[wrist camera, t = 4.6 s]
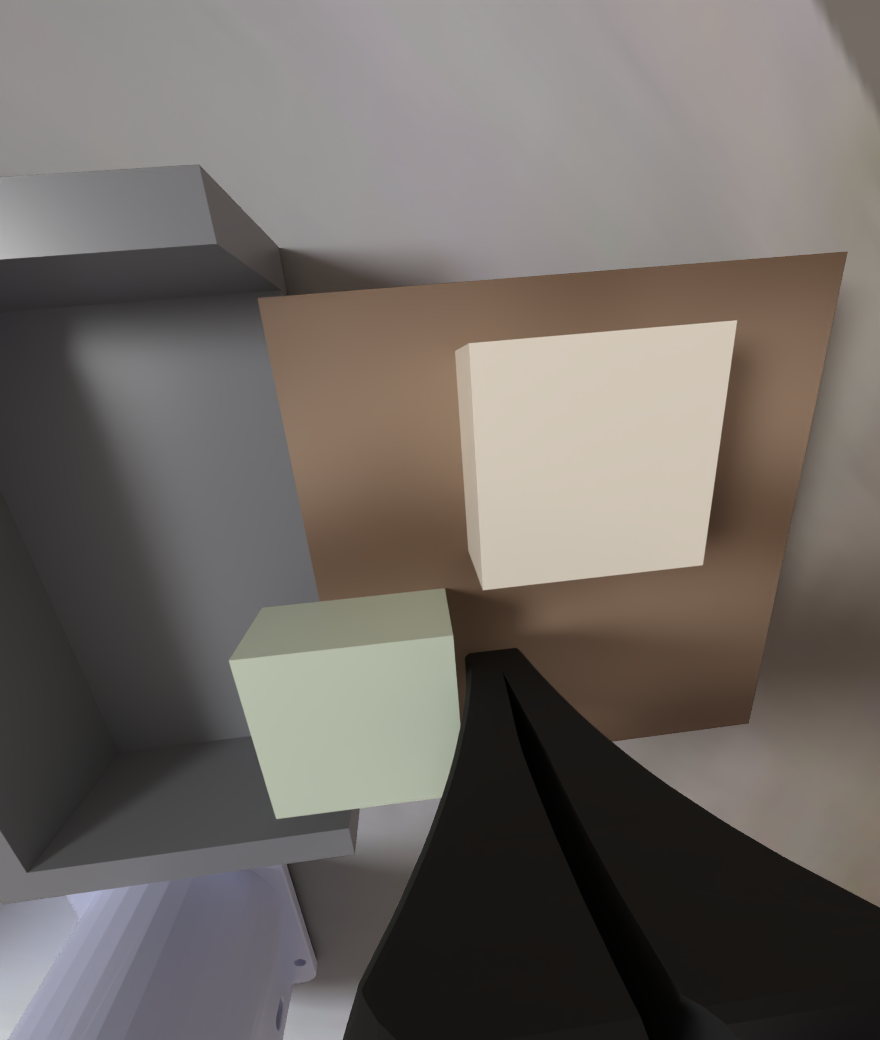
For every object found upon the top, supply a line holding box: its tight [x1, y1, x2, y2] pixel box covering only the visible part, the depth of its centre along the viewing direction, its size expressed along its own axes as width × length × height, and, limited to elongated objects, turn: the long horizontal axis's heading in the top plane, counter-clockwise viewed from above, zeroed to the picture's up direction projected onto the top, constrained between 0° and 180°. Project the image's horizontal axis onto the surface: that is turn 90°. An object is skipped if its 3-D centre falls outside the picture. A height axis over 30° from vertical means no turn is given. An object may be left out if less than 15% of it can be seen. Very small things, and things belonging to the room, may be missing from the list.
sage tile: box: [229, 588, 461, 819], centre depth 10 cm, size 4×4×2 cm
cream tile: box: [455, 320, 737, 590], centre depth 8 cm, size 4×4×2 cm
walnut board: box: [257, 252, 847, 741], centre depth 11 cm, size 12×12×2 cm
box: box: [0, 164, 360, 904], centre depth 10 cm, size 15×9×4 cm, turn 5°
